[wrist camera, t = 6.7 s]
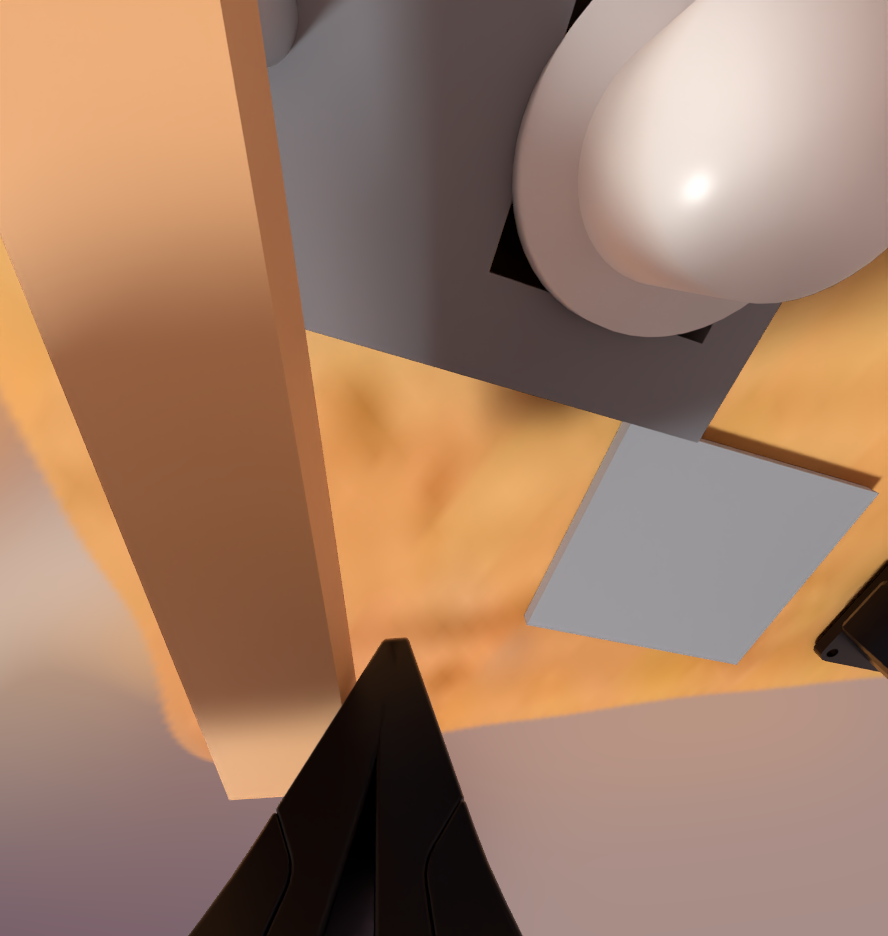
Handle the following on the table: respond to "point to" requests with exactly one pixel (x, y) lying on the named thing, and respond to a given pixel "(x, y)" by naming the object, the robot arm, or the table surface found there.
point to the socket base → (454, 207)
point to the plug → (705, 158)
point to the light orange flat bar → (183, 347)
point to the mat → (691, 545)
